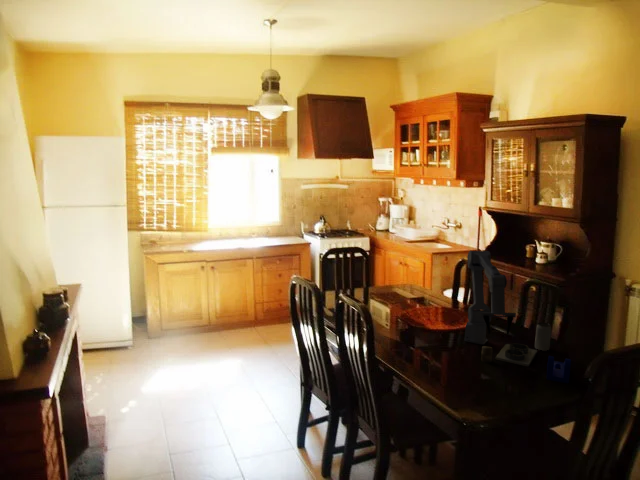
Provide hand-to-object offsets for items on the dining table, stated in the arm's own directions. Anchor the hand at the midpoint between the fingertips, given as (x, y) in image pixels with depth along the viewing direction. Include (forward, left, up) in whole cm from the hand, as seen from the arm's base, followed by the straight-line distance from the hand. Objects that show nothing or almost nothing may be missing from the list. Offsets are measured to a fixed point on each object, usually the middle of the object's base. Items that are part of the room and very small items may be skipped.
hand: (498, 333), depth 233 cm
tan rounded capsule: (-4, -2, -13) cm, 13 cm away
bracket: (+25, +2, -13) cm, 28 cm away
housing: (+6, +12, -13) cm, 18 cm away
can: (+14, +28, -13) cm, 34 cm away
